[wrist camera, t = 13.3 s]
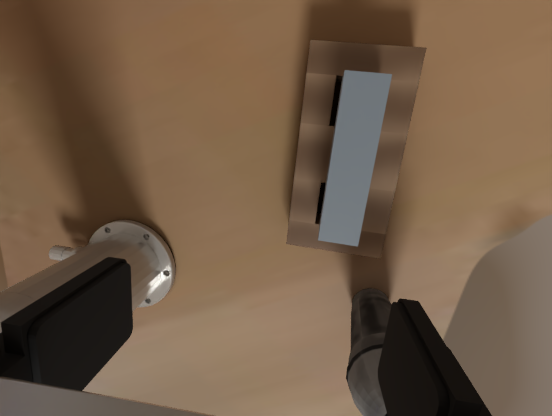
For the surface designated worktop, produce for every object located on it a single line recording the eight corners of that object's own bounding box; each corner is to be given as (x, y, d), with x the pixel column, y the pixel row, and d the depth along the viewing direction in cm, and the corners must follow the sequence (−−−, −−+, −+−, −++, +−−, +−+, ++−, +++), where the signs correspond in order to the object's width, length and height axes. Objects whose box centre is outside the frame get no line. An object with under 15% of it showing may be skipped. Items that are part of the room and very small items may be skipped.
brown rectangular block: (374, 244, 35) (380, 258, 32) (290, 231, 37) (286, 243, 33) (413, 57, 30) (426, 47, 26) (312, 50, 31) (310, 39, 27)
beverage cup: (400, 276, 36) (481, 448, 17) (403, 329, 38) (480, 538, 19) (338, 279, 37) (348, 441, 18) (343, 330, 39) (359, 526, 20)
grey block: (340, 84, 31) (344, 69, 23) (374, 87, 31) (392, 74, 22) (320, 212, 35) (317, 240, 27) (350, 216, 35) (357, 246, 26)
